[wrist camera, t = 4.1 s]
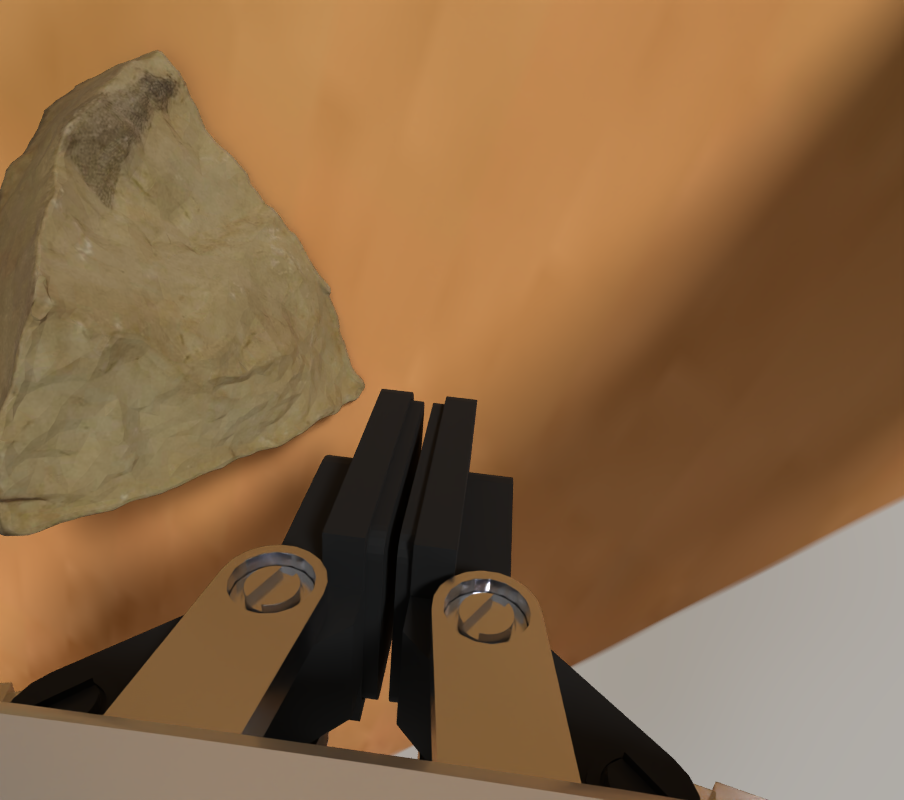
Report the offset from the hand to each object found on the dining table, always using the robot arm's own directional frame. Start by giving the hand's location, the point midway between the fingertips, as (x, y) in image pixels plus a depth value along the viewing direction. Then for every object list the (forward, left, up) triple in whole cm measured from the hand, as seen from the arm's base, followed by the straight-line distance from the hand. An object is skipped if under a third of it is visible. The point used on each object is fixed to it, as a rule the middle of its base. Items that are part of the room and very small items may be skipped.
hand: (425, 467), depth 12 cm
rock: (+7, -1, -10) cm, 12 cm away
